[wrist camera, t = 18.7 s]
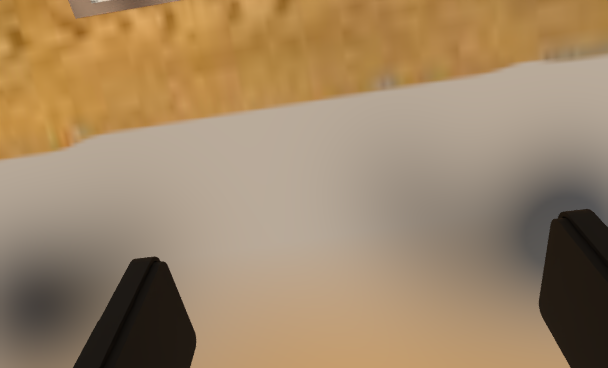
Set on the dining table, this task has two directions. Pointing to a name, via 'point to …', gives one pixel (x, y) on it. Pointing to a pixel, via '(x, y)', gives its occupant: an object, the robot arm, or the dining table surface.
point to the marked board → (108, 6)
